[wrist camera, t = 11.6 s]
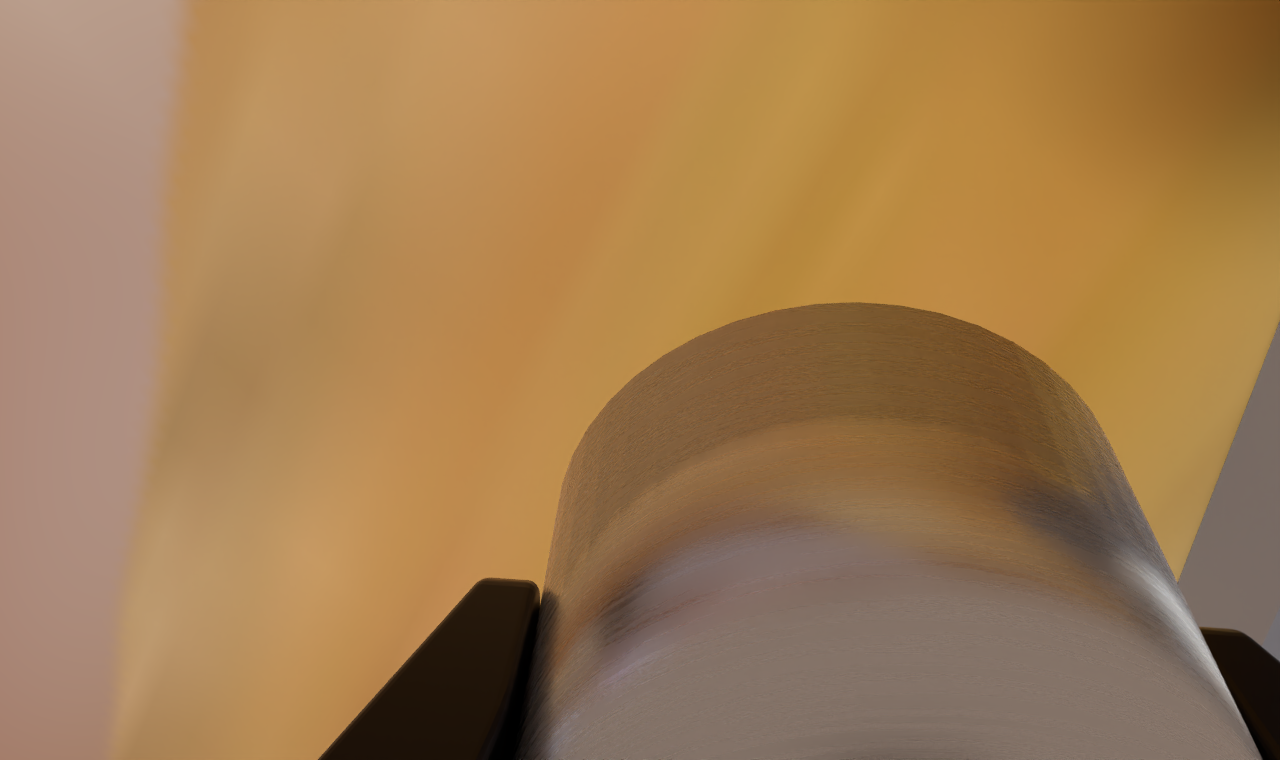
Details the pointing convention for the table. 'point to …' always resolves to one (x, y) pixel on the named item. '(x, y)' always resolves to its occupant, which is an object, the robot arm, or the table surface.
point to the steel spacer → (861, 563)
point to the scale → (1243, 525)
